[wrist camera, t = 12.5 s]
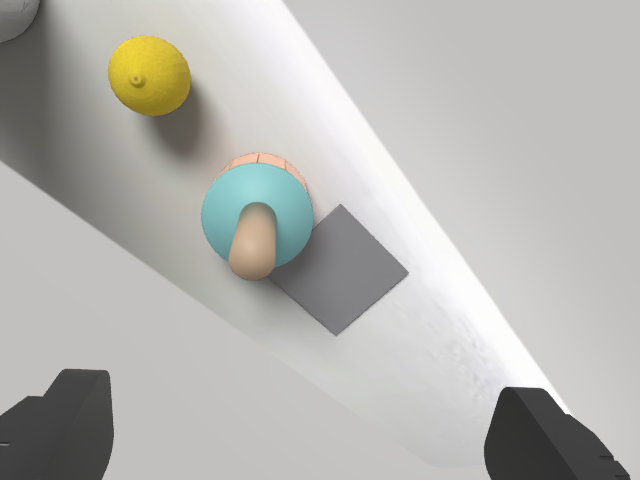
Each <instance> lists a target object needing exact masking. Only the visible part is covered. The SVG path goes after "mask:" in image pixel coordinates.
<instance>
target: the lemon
mask: <svg viewBox="0 0 640 480" xmlns="http://www.w3.org/2000/svg"><path fill="white" fill-rule="evenodd" d="M108 78H109V81H110V85H111V88H112V90H113V91H114V93H115V95H116V96H117V98H118V99H119V100H120V101H121V102H122V103H123V104H124V105H125V106H127V107H128V108H130V109H131V110H133V111H135V112H138V113H140V114H144V115H149V116H158V115H164V114H167V113H170V112H173V111H174V110H175V109H177V108H178V107H180V106H181V104H182V103H183V102H184V101H185V99H186V98H187V95H188V93H189V91H190V85H191V76H190V70H189V67H188V64H187V62H186V60H185V58H184V57H183V55H182V54H181V53H180V52H179V51H178V50H177V49H176V48H175V47H174V46H173V45H171V44H170V43H168V42H167V41H165V40H163V39H160V38H157V37H153V36H139V37H134V38H131V39H129V40H127V41H125V42H123V43H122V44H121V45H120V46H119V47H118V48H117V49H116V50H115V51H114V53H113V55H112V57H111V59H110V62H109V67H108Z"/></svg>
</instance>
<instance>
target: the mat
mask: <svg viewBox="0 0 640 480" xmlns="http://www.w3.org/2000/svg"><path fill="white" fill-rule="evenodd" d="M408 273H409V272H408V271H407V270H406V269H405V268H404V267H403V266H402V265H401V264H400V263H399V262H398V261H397V260H396V259H395V258H394V257H393V256H392V255H391V254H390V253H389V252H388V251H387V250H386V249H385V248H384V247H383V246H382V245H381V244H380V243H379V242H378V241H377V240H376V239H375V238H374V237H373V236H372V235H371V234H370V233H369V232H368V231H367V230H366V229H365V228H364V227H363V226H362V225H361V224H360V223H359V222H358V221H357V220H356V219H355V218H354V217H353V216H352V215H351V214H350V213H349V212H348V211H347V210H346V209H345V208H344V207H343V206H342V205H341V204H340V205H339V206H338V207H337V208H335V209H334V210H333V211H332V212H331V213H330V214H329V215H328V216H327V217H326V218H325V219H324V220H323V221H322V222H320V223H319V224H318V225H317V226H316V227H315V228H314V229H313V230H312V231H311V235H310V237H309V240H308V241H307V243H306V245H305V246H304V248H303V249H302V251H301V252H300V253H299V254H298V255H297V256H295V257H294V258H293V259H292V260H290V261H289V262H287V263H285V264H283V265H281V266H278V267H275V268H273V270H272V271H271V273H270V274H269V275H267V276H268V277H269V278H270V279H271V280H272V281H273V282H275V283H276V284H277V285H278V286H279V287H280V288H282V289H283V290H284V291H285V292H286V293H287V294H288V295H290V296H291V297H292V298H293V299H294V300H295V301H297V302H298V303H299V304H300V305H301V306H302V307H304V308H305V309H306V310H307V311H308V312H309V313H310V314H312V315H313V316H314V317H315V318H316V319H317V320H319V321H320V322H321V323H322V324H323V325H324V326H326V327H327V328H328V329H329V330H330V331H331V332H332V333H334V334H335V335H337V334H338V333H339V332H340V331H341V330H343V329H344V328H345V327H346V326H347V325H348V324H350V323H351V322H352V321H353V320H354V319H355V318H357V317H358V316H359V315H360V314H361V313H362V312H364V311H365V310H366V309H367V308H368V307H369V306H371V305H372V304H373V303H374V302H375V301H377V300H378V299H379V298H380V297H381V296H382V295H384V294H385V293H386V292H387V291H388V290H389V289H391V288H392V287H393V286H394V285H395V284H396V283H398V282H399V281H400V280H401V279H402V278H403V277H405V276H406V275H407V274H408Z"/></svg>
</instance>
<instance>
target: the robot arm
mask: <svg viewBox="0 0 640 480" xmlns="http://www.w3.org/2000/svg"><path fill="white" fill-rule="evenodd" d="M39 2H40V0H0V43H1V42H5V41H8V40H11V39H14V38H15V37H17V36H18V35H20V34H21V33H23V32H24V31H25V30H26V29H27V28H28V27H29V25H30V24H31V23H32V22H33V20H34V17H35V15H36V13H37V11H38V7H39ZM110 385H111V384H110V376H109V373H108V371H106V370H83V369H64V370H62V371H61V372H60V373H59V375H58V376H57V377H56V379H55V380H54V382H53V383H52V385H51V386H50V388H49V389H48V390H47V392H46V393H45V394H44V396H43V397H40V396H39V397H38V396H27V397H26V398H25V399H23V400H22V401H20V402H19V403H17V404H16V405H15V406H13V407H12V408H10V409H9V410H8V411H6V412H5V413H3V414H2V415H1V416H0V480H102V478H103V475H104V473H105V471H106V468H107V466H108V463H109V459H110V456H111V452H112V446H113V438H114V428H113V414H112V399H111V386H110ZM484 458H485V464H486V468H487V471H488V474H489V476H490V478H491V480H630V477H629V476H630V475H629V474H628V473H627V472H626V470H625V469H624V468H623V467H622V466H621V464H620V463H619V462H618V461H614V458H613V455H612V454H611V453H610V451H609V450H608V449H607V448H606V447H605V445H604V444H603V443H602V442H601V441H600V439H599V438H598V437H597V436H596V435H595V434H594V433H593V432H592V431H590V430H589V429H588V428H587V427H585V426H584V425H583V424H581V423H580V422H579V421H577V420H576V419H575V418H573V417H572V416H571V415H570V414H565V413H564V412H563V411H562V409H561V408H560V407H559V406H558V404H557V403H556V402H555V401H554V399H553V398H552V397H551V396H550V394H549V393H548V392H547V391H545V390H544V389H542V388H525V387H505V388H504V389H503V390H502V391H501V393H500V395H499V398H498V401H497V405H496V408H495V411H494V414H493V417H492V421H491V424H490V427H489V430H488V434H487V437H486V440H485V445H484Z"/></svg>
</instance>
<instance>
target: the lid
mask: <svg viewBox="0 0 640 480" xmlns="http://www.w3.org/2000/svg"><path fill="white" fill-rule="evenodd" d="M201 220H202V227H203V230H204V234H205V236H206V238H207V240H208V242H209V243H210V245H211V246H212V248H213V249H214V250H215V251H216V252H217V253H218V254H219V255H220V256H221V257H222V258H224V259H225V260H226V261H228V262H229V264H230V267H231V269H232V271H233V272H234V273H235V274H236V275H237V276H239V277H241V278H243V279H246V280H259V279H262V278H264V277H266V276H267V275H269V274H270V273H271V271H272V270H273V268H275V267H278V266H281V265H283V264H285V263H287V262H289V261H290V260H292V259H293V258H294V257H295V256H297V255H298V254H299V253H300V252H301V251H302V249H303V248H304V246H305V245H306V243H307V241H308V240H309V237H310V235H311V231H312V227H313V210H312V205H311V201H310V198H309V196H308V194H307V192H306V190H305V188H304V187H303V185H302V184H301V183H300V182H299V181H298V179H297V178H295V177H294V176H293V175H292V174H291V173H289V172H288V171H286V170H284V169H282V168H280V167H278V166H275V165H272V164H267V163H246V164H242V165H239V166H235V167H233V168H231V169H229V170H228V171H226V172H225V173H223V174H222V175H221V176H220V177H218V178H217V179H216V181H215V182H214V183H213V184H212V186H211V187H210V189H209V190H208V192H207V194H206V197H205V199H204V202H203V205H202V212H201Z"/></svg>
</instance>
